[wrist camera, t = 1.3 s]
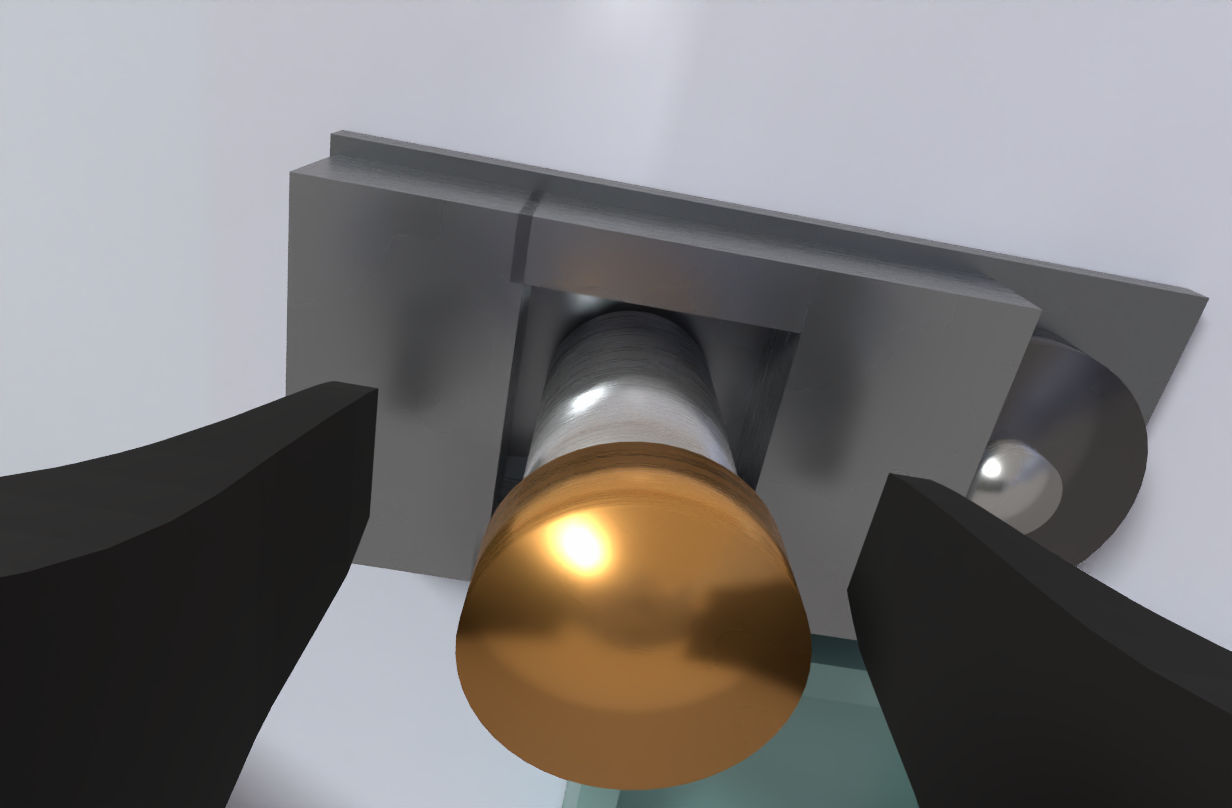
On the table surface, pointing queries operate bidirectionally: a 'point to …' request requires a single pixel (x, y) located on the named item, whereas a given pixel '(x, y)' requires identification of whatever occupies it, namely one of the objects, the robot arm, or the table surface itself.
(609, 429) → the pin
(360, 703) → the table surface
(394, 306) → the plate
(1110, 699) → the robot arm
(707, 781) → the tray
